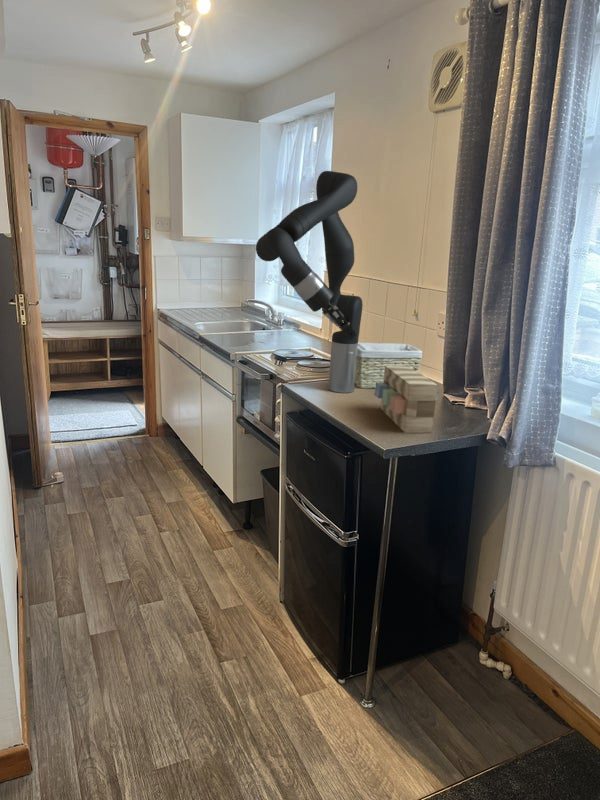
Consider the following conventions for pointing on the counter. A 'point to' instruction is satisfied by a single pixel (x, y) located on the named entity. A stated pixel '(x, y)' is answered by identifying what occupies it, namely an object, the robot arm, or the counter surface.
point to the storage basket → (383, 361)
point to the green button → (388, 396)
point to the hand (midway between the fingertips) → (351, 335)
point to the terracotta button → (398, 404)
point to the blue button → (380, 389)
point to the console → (411, 398)
